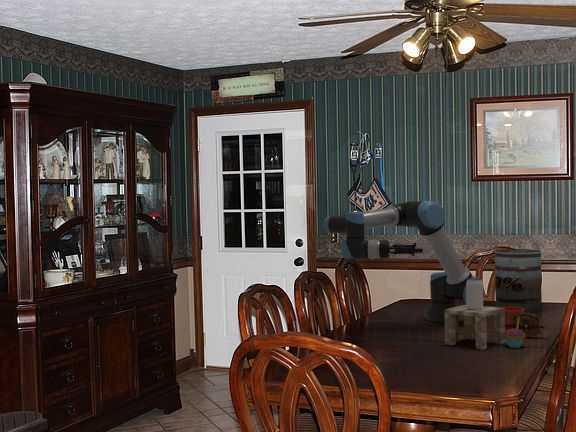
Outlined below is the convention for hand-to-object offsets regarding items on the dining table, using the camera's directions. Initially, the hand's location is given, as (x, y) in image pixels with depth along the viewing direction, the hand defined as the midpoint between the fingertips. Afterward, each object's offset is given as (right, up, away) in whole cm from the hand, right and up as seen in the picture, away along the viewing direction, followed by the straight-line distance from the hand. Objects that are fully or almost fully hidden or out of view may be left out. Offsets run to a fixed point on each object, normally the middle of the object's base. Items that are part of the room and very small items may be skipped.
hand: (432, 249), depth 318 cm
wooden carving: (+40, -37, +8) cm, 55 cm away
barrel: (+59, -35, +82) cm, 106 cm away
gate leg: (+14, -37, +3) cm, 40 cm away
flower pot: (+39, -37, +24) cm, 59 cm away
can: (+16, -24, -4) cm, 29 cm away
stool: (+17, -38, -3) cm, 41 cm away
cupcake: (+30, -38, -11) cm, 50 cm away
